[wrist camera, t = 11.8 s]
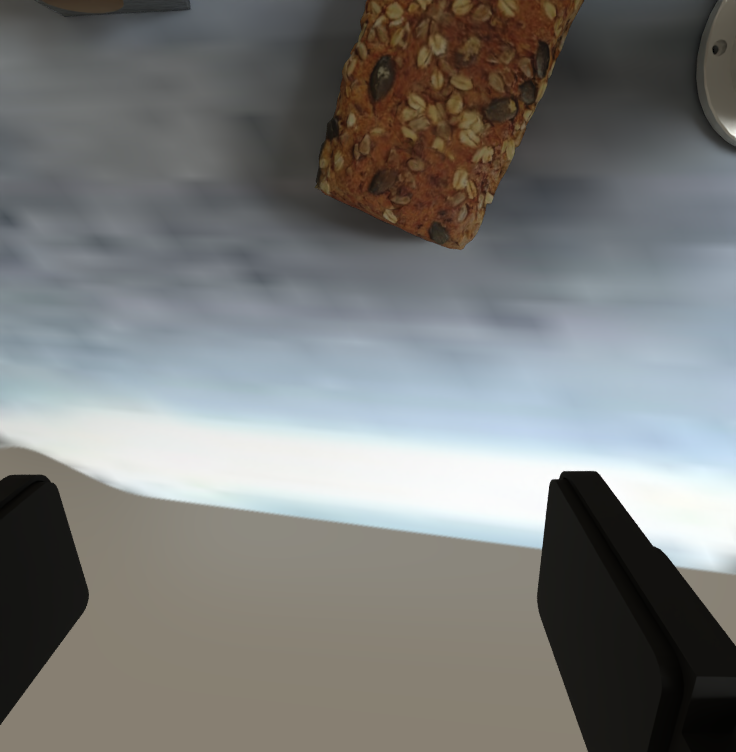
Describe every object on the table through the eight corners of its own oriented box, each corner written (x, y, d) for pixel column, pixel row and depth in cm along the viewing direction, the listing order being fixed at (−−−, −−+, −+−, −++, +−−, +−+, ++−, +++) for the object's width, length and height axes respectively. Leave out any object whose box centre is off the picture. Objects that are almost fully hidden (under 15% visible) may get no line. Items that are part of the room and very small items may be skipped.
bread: (450, 245, 37) (470, 263, 27) (318, 187, 36) (293, 184, 26) (582, -37, 30) (668, -141, 21) (427, -119, 29) (445, -266, 20)
